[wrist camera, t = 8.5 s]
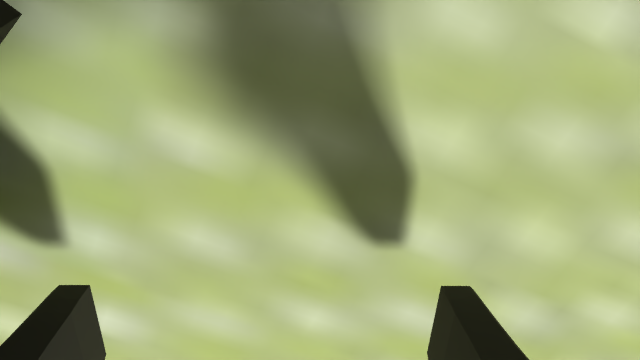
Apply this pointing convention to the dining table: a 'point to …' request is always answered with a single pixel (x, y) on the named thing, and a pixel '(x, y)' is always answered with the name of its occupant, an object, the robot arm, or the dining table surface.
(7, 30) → the toy
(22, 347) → the robot arm
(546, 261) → the dining table surface
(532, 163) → the dining table surface
